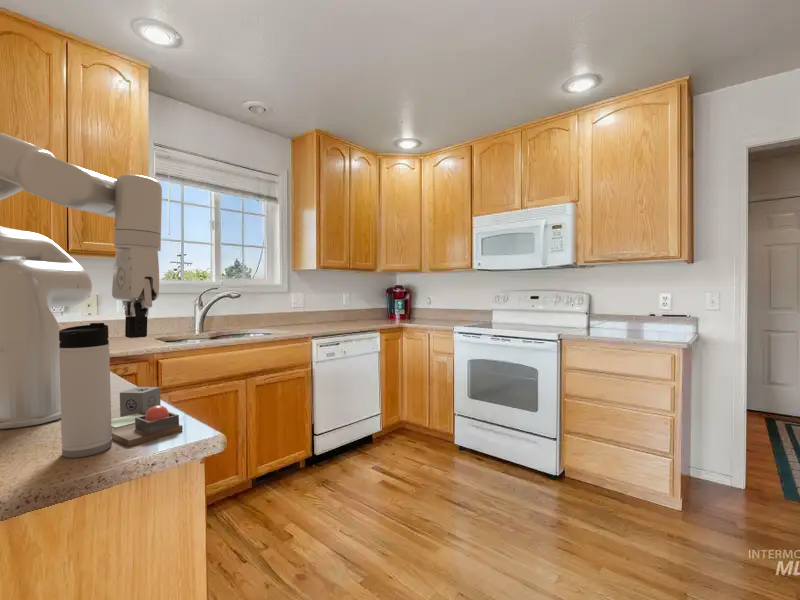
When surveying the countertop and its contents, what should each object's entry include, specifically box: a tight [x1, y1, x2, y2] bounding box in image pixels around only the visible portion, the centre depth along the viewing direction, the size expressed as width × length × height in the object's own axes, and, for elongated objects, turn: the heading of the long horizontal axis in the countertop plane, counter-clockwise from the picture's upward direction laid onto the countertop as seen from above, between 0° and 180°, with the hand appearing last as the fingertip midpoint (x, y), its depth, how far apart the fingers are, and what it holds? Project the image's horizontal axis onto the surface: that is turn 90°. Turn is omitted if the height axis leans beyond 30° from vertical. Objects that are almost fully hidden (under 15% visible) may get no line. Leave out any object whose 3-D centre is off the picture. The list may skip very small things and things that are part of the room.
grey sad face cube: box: [119, 386, 162, 418], centre depth 84 cm, size 5×5×5 cm
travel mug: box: [59, 322, 113, 459], centre depth 64 cm, size 6×7×20 cm
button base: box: [111, 411, 184, 447], centre depth 74 cm, size 15×9×3 cm, turn 56°
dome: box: [145, 405, 170, 422], centre depth 72 cm, size 4×4×4 cm
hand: (136, 336), depth 79 cm, fingers closed
